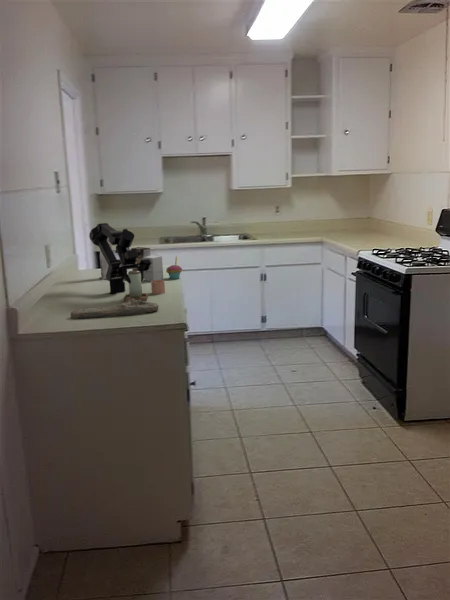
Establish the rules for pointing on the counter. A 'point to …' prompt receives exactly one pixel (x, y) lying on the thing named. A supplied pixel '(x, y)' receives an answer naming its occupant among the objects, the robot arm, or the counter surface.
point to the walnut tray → (143, 298)
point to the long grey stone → (116, 309)
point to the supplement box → (154, 268)
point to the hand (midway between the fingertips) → (136, 281)
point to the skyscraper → (104, 264)
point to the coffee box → (141, 256)
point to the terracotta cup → (158, 286)
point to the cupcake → (174, 270)
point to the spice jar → (135, 284)
